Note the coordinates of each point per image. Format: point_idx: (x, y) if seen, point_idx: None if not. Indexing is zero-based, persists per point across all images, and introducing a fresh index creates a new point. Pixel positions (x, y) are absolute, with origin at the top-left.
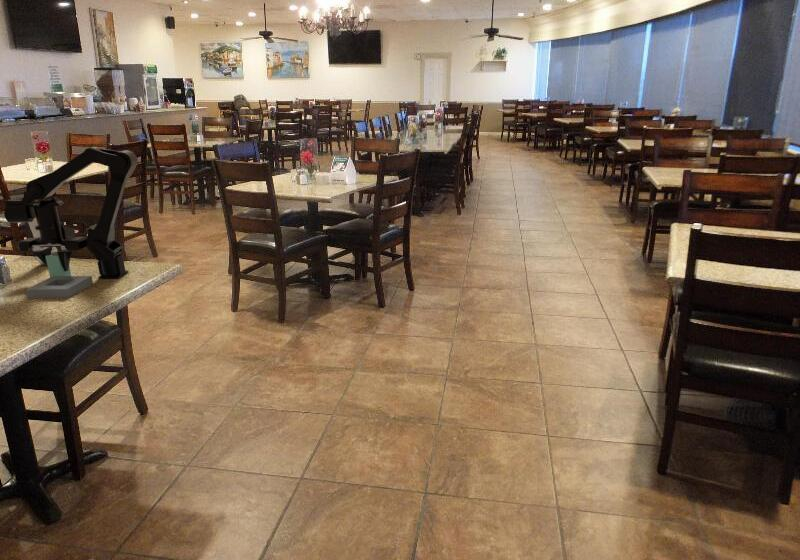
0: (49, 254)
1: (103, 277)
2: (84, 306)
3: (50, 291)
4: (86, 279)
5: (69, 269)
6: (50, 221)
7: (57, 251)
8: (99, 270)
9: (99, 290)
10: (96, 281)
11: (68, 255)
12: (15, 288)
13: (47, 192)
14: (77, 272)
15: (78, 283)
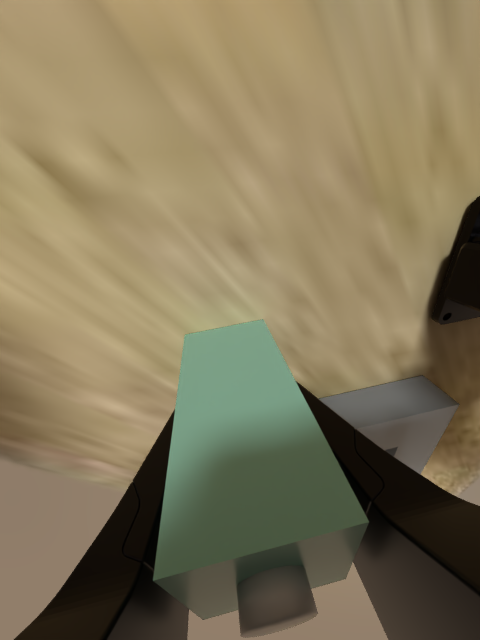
0: (199, 604)
1: (462, 318)
2: (443, 478)
3: None
4: (441, 427)
5: (279, 353)
6: None
7: (290, 616)
8: (476, 308)
9: (459, 412)
10: (427, 348)
11: (394, 492)
12: (128, 472)
13: None
14: (225, 216)
15: (424, 460)
